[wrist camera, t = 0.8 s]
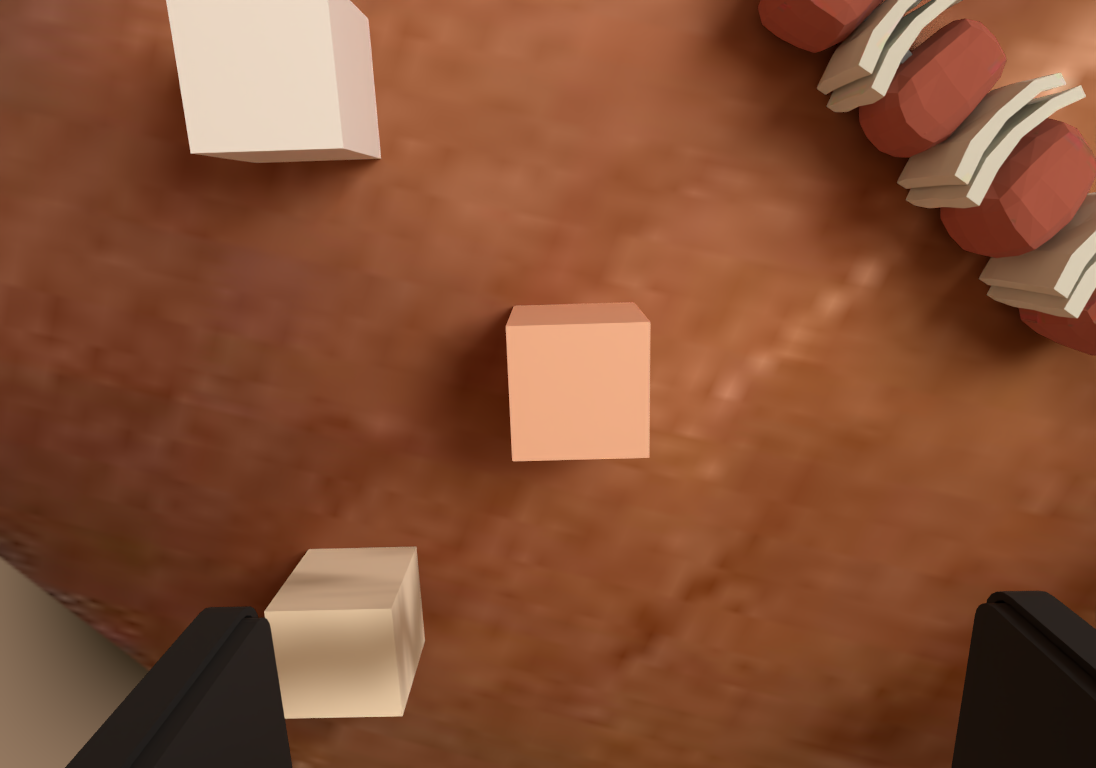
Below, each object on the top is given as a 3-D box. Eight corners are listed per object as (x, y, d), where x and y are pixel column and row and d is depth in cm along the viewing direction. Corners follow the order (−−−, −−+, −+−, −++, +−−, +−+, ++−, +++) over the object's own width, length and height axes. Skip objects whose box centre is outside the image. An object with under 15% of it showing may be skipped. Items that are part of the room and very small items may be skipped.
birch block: (425, 639, 32) (402, 715, 27) (322, 641, 32) (281, 718, 27) (416, 545, 31) (391, 608, 26) (309, 548, 31) (264, 611, 26)
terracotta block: (633, 416, 29) (649, 457, 24) (519, 419, 29) (512, 461, 24) (633, 302, 28) (650, 321, 23) (514, 305, 28) (505, 326, 23)
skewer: (772, -301, 19) (1349, 389, 24) (733, -203, 24) (1224, 361, 28) (645, -147, 20) (1222, 487, 25) (631, -81, 25) (1120, 445, 29)
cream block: (381, 158, 27) (343, 148, 22) (256, 163, 27) (190, 153, 22) (369, 19, 25) (325, -25, 20) (237, 24, 25) (163, -19, 20)
